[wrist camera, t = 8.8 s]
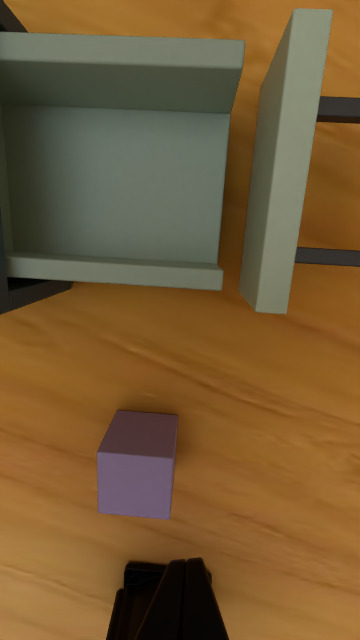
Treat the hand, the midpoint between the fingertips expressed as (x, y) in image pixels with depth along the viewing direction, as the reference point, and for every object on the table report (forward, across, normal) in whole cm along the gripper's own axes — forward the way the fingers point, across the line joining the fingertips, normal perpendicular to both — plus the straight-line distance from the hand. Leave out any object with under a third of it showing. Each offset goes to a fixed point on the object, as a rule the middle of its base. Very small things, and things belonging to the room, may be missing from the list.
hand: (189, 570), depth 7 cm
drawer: (+10, -1, -10) cm, 15 cm away
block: (+11, +4, +4) cm, 12 cm away
